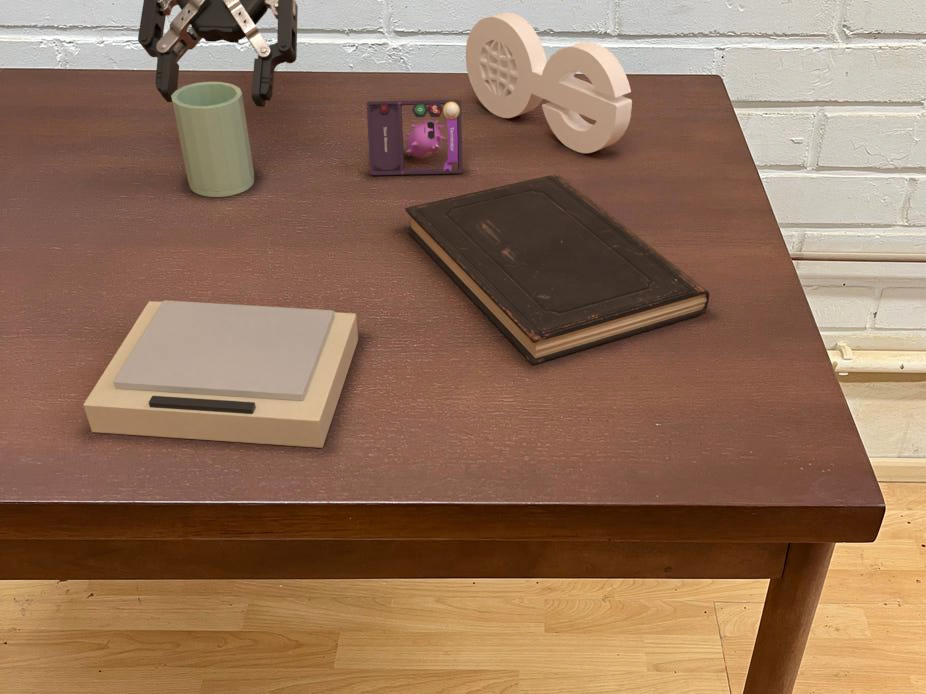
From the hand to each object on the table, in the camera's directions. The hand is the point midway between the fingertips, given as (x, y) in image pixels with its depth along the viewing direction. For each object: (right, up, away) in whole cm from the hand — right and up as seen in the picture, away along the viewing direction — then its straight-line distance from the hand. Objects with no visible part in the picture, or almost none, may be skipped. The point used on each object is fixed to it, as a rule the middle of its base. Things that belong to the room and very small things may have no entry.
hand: (213, 101), depth 93 cm
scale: (+7, -28, -20) cm, 35 cm away
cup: (0, -6, +4) cm, 7 cm away
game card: (+18, -4, +7) cm, 20 cm away
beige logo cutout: (+31, +2, +14) cm, 34 cm away
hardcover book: (+30, -17, -8) cm, 36 cm away
